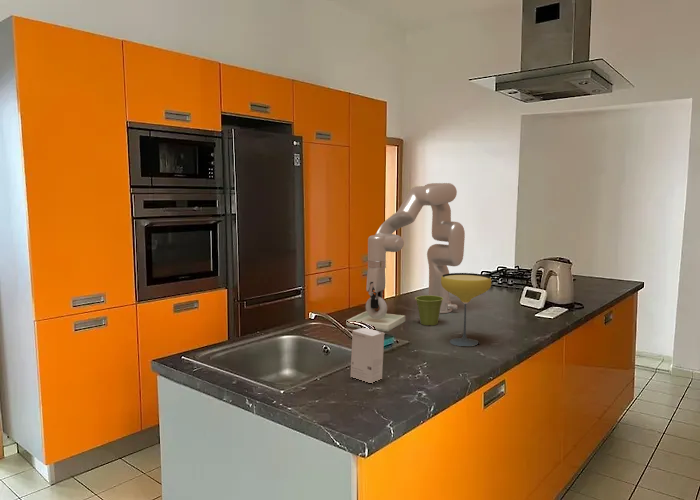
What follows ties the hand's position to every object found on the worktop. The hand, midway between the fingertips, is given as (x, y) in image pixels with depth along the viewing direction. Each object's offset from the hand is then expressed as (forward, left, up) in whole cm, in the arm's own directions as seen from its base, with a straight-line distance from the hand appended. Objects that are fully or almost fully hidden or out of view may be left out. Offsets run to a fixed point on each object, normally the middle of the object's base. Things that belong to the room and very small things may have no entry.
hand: (376, 306), depth 223 cm
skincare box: (-25, +62, -8) cm, 67 cm away
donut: (0, 0, -5) cm, 5 cm away
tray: (0, 0, -7) cm, 7 cm away
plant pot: (-20, -10, -8) cm, 24 cm away
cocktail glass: (-41, +11, -7) cm, 43 cm away
